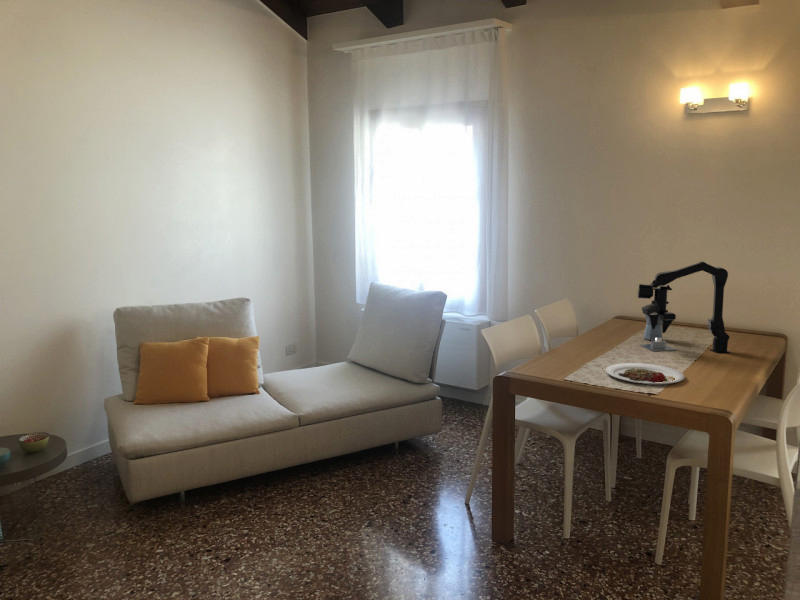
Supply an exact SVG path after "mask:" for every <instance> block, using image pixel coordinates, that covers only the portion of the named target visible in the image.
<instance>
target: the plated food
mask: <svg viewBox="0 0 800 600" xmlns="http://www.w3.org/2000/svg"><path fill="white" fill-rule="evenodd" d="M605 372H606V373H607V374H608V376H612V377H613V378H615V379H619V380H622V381H626V382H629V383H634V384H640V383H643V385H666V384H674V383H679V382H681V381H683V380H684V379H685V374H684V373H683V372H681V371H679V370H677V369H674V368H671V367H668V366H663V365H658V364H651V363H650V364H649V363H641V362H638V363H637V362H625V363H616V364H612V365H608V366H607V367H606V368H605ZM666 376H673V377H674V378H675V380H673V381H672V380H671V381H670V380H669V381H670V382H663V381H668V379H667V378H666ZM655 382H663V383H655Z"/></svg>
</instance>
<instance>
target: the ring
mask: <svg viewBox="0 0 800 600" xmlns="http://www.w3.org/2000/svg"><path fill="white" fill-rule="evenodd" d="M666 343H667V341H666V340H664V339H662V342H656V341H655V339H653V340H650V344H651V346H650V347H653V348H665V347H666V345H667V344H666Z"/></svg>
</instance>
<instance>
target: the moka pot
mask: <svg viewBox="0 0 800 600" xmlns="http://www.w3.org/2000/svg"><path fill="white" fill-rule="evenodd" d="M645 321H646V324H645V329H644V335H643V339H645V340H649V341H651V340H653V339H655V338H656V337H660V338H662V339H663V333H662V322H661V321H660V315H659V318H658V321H657V324H656V327H655V329H652V326H651V322H650V319H649V317H648V316H647V315H645Z"/></svg>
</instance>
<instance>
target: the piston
mask: <svg viewBox="0 0 800 600" xmlns="http://www.w3.org/2000/svg"><path fill="white" fill-rule="evenodd" d="M662 340H663V337H662V338H660V337H656V338H655V341H656V342H662ZM639 346H640V347H642V348H644V349H647V350H649V351H651V352H670V351H671V352H673V351H677V348H674V347H672V346H669V345H667V344H666V347H665V348H653V347H650V346H651V343H647V344H646V343H645V344H639Z"/></svg>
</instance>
